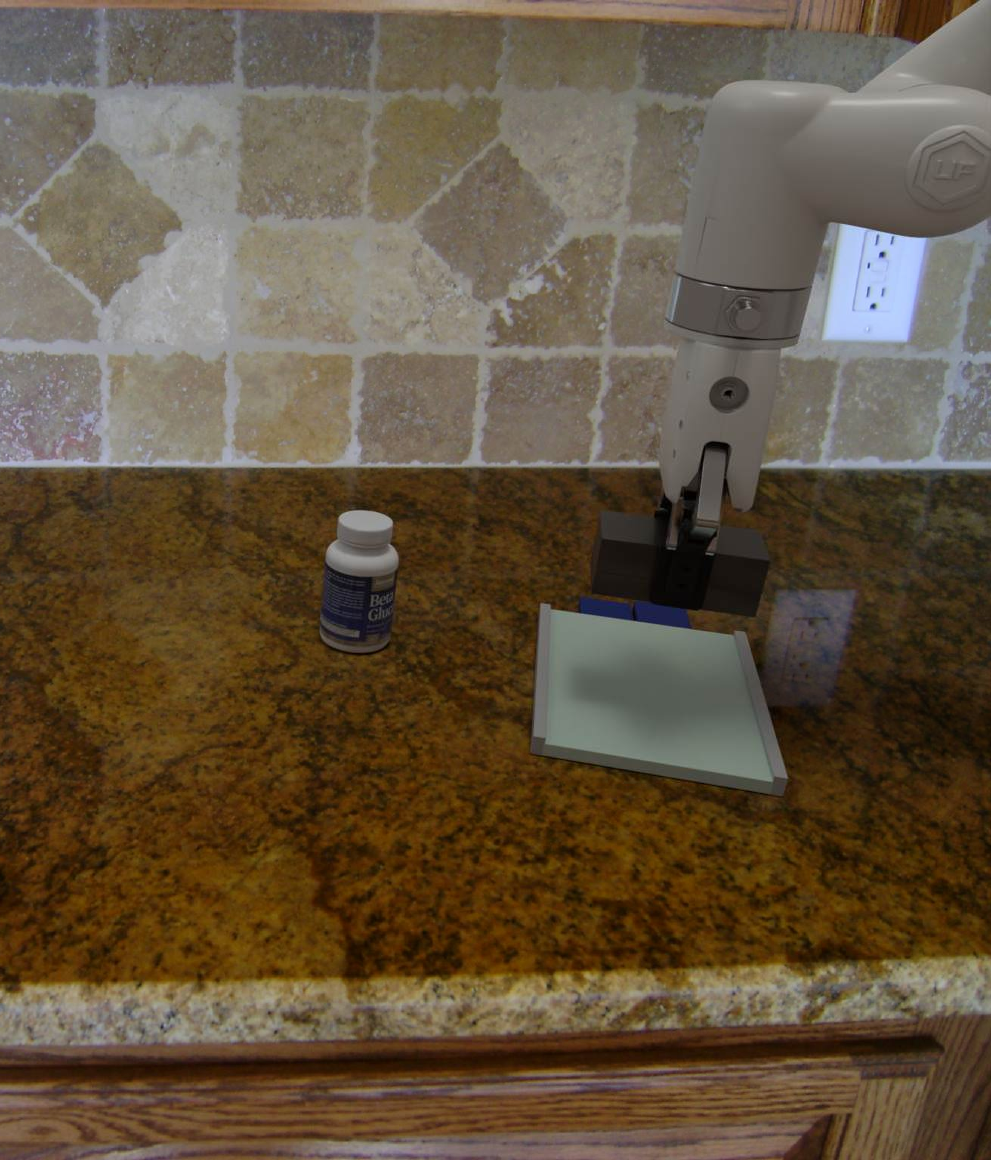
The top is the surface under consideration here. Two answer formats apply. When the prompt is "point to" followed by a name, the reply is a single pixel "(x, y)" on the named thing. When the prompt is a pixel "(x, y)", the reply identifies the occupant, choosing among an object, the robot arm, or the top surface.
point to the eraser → (633, 552)
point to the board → (653, 701)
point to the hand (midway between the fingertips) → (671, 584)
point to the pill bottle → (359, 583)
